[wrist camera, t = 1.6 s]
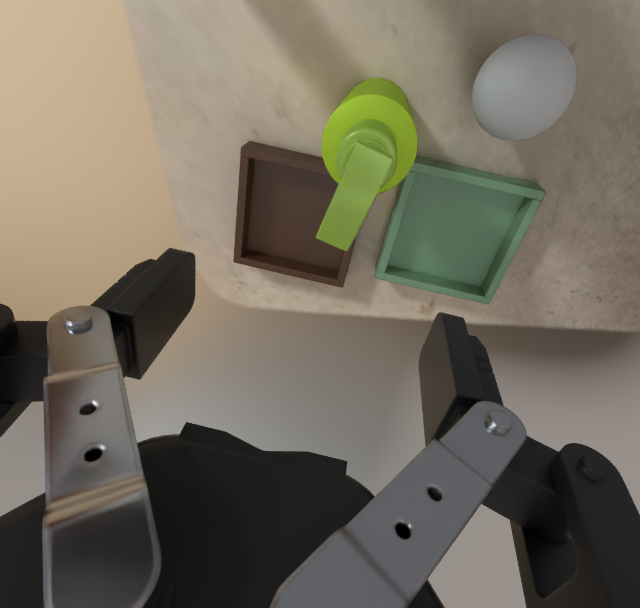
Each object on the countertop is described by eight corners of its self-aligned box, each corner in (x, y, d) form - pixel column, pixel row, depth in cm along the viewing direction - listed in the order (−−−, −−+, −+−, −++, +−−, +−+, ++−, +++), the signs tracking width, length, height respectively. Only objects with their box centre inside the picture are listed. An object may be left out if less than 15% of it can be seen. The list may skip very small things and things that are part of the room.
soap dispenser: (327, 145, 37) (278, 226, 21) (358, 65, 34) (329, 87, 17) (384, 171, 38) (380, 271, 21) (421, 96, 34) (452, 146, 18)
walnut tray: (249, 140, 38) (240, 146, 36) (371, 168, 38) (370, 176, 36) (240, 251, 45) (233, 262, 43) (344, 276, 45) (342, 288, 43)
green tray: (409, 154, 37) (410, 161, 35) (537, 183, 37) (547, 192, 34) (375, 266, 44) (375, 278, 41) (484, 291, 43) (489, 305, 41)
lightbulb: (509, 15, 30) (561, 4, 21) (550, 82, 32) (613, 98, 23) (441, 79, 33) (460, 92, 24) (482, 137, 35) (514, 169, 26)
